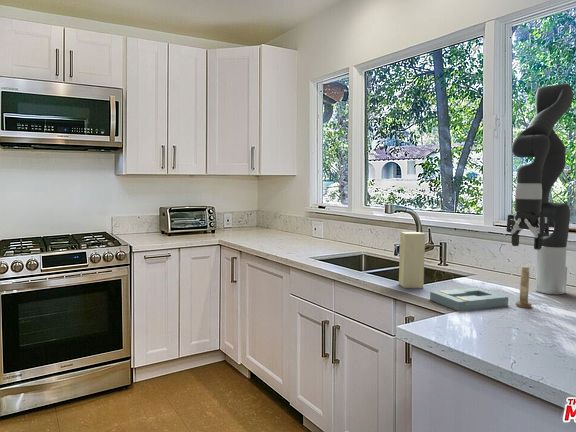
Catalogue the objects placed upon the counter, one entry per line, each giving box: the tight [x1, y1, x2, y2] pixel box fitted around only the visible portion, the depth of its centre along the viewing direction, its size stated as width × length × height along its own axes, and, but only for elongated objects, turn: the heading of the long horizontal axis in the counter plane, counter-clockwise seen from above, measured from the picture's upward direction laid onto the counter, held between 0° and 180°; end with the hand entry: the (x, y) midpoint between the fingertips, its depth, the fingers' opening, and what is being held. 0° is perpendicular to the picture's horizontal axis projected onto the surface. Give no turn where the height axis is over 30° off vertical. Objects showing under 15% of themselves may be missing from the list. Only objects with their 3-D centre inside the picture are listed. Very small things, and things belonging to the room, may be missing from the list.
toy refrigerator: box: [398, 231, 426, 289], centre depth 171 cm, size 8×7×21 cm
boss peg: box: [515, 265, 533, 309], centre depth 143 cm, size 5×5×13 cm
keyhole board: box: [429, 287, 509, 312], centre depth 147 cm, size 20×14×3 cm
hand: (526, 247), depth 142 cm, fingers open, 8 cm apart
